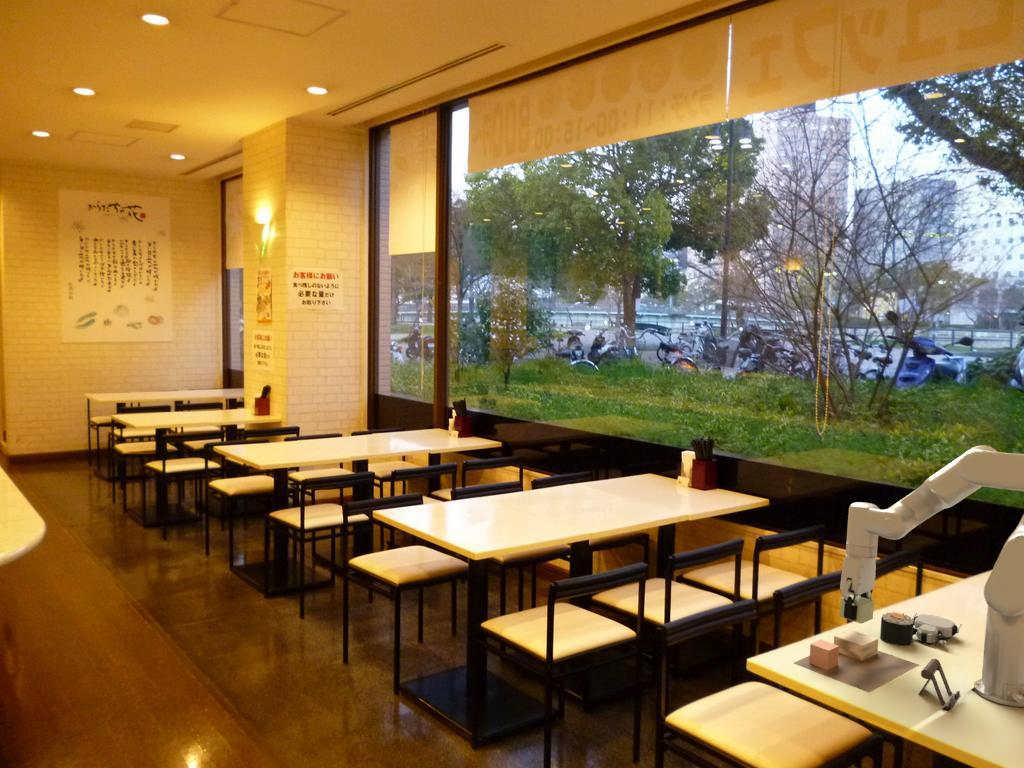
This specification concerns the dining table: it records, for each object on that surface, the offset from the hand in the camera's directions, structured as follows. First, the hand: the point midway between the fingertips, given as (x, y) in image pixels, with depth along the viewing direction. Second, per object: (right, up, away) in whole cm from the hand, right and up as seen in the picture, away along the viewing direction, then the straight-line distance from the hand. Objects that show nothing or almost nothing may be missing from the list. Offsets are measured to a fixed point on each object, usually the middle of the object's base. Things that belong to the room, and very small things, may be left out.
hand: (856, 615), depth 214 cm
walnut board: (-3, -11, -7) cm, 14 cm away
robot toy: (+27, -11, +15) cm, 33 cm away
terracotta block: (-12, -10, -7) cm, 17 cm away
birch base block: (0, -10, +1) cm, 10 cm away
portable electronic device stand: (+9, -13, -24) cm, 29 cm away
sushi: (+15, -11, +10) cm, 21 cm away
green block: (0, -1, 0) cm, 1 cm away
